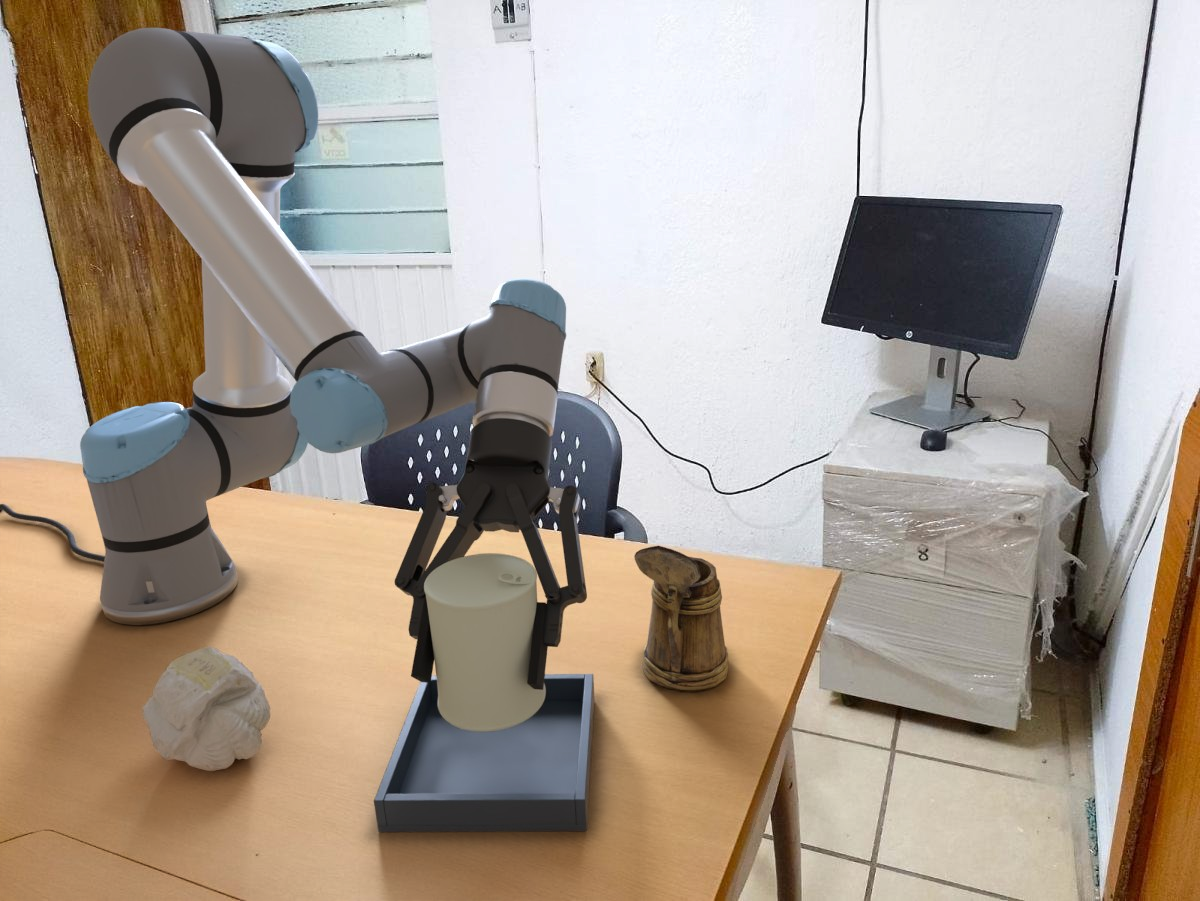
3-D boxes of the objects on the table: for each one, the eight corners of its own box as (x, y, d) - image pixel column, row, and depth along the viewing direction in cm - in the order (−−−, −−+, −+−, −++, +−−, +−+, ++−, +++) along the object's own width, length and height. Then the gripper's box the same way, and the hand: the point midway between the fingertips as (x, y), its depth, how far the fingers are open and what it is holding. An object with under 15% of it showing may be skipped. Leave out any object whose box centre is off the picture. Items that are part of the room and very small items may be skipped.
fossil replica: (234, 798, 70) (301, 730, 79) (229, 712, 68) (298, 653, 77) (113, 769, 73) (192, 707, 82) (103, 685, 70) (186, 631, 80)
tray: (378, 832, 66) (373, 801, 65) (425, 702, 81) (422, 675, 80) (586, 831, 65) (585, 799, 64) (594, 700, 81) (593, 673, 80)
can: (528, 738, 66) (518, 605, 62) (420, 726, 68) (403, 597, 64) (557, 670, 74) (549, 550, 70) (460, 662, 76) (447, 544, 72)
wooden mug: (614, 710, 79) (608, 540, 73) (657, 636, 91) (655, 484, 85) (705, 729, 76) (707, 553, 70) (737, 650, 88) (741, 494, 82)
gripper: (632, 452, 78) (615, 698, 68) (414, 448, 81) (368, 683, 72) (624, 415, 71) (603, 682, 62) (386, 412, 75) (332, 666, 65)
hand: (477, 682), depth 67 cm, fingers closed on can, 9 cm apart
